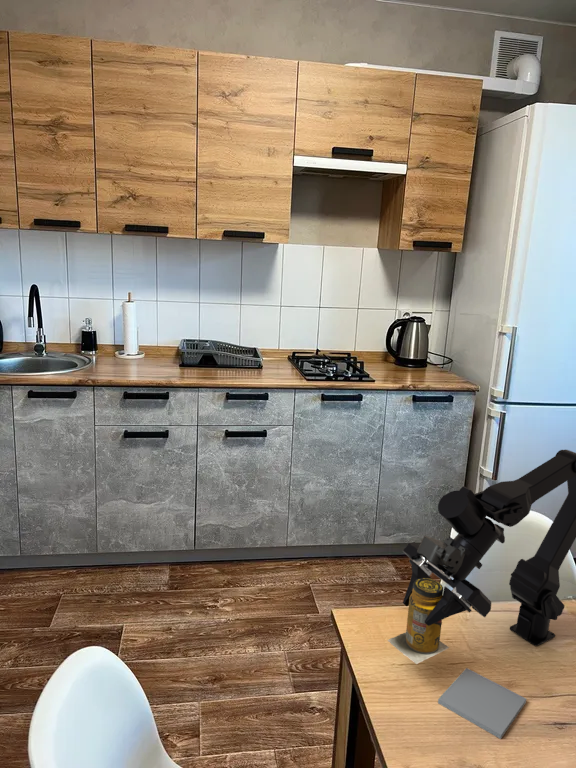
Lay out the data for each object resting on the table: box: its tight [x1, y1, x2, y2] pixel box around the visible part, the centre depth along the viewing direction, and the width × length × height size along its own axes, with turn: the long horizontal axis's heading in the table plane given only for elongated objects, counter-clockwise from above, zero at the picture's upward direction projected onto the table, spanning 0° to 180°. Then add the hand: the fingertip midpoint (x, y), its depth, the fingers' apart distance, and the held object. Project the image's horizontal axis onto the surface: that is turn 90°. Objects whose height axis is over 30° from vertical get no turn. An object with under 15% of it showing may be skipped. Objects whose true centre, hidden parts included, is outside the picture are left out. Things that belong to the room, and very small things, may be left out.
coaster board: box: [437, 667, 527, 740], centre depth 102 cm, size 11×11×1 cm
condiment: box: [387, 578, 450, 665], centre depth 106 cm, size 7×8×12 cm
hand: (415, 614), depth 105 cm, fingers closed on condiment, 6 cm apart
